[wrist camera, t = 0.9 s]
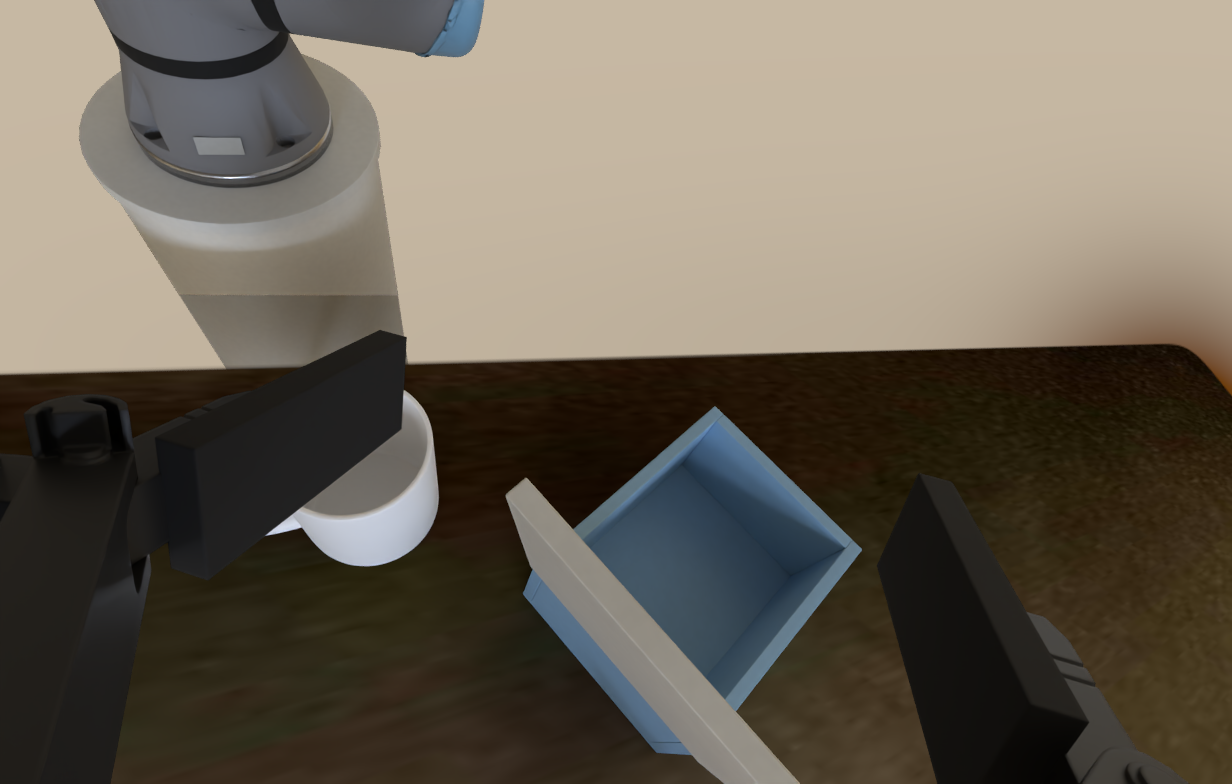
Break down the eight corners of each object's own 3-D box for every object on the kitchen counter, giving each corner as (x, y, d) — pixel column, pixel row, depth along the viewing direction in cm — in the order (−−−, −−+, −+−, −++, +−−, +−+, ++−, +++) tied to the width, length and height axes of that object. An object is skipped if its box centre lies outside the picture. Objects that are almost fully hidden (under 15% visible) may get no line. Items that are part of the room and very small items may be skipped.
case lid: (525, 476, 18) (504, 495, 18) (861, 851, 15) (841, 880, 15) (541, 555, 33) (529, 565, 33) (709, 749, 30) (698, 762, 30)
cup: (454, 542, 41) (452, 489, 32) (255, 612, 37) (190, 573, 28) (420, 434, 44) (409, 360, 36) (232, 487, 40) (167, 417, 31)
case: (677, 455, 48) (715, 405, 41) (799, 579, 45) (862, 549, 38) (522, 593, 40) (534, 562, 33) (656, 753, 38) (701, 755, 30)
